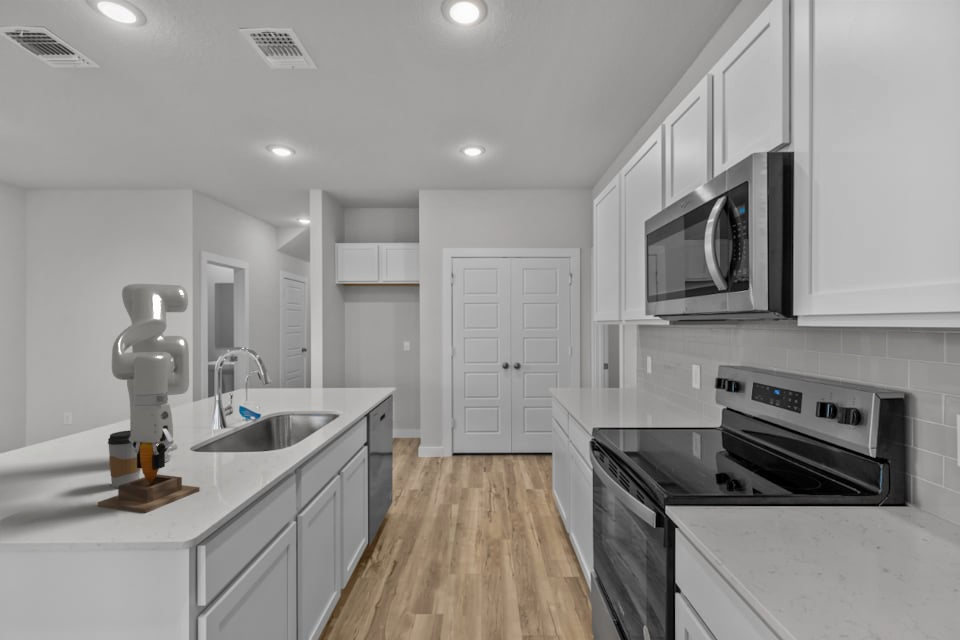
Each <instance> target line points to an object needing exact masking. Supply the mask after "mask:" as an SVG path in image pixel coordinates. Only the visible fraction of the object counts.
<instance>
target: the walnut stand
mask: <svg viewBox="0 0 960 640" xmlns="http://www.w3.org/2000/svg"><path fill="white" fill-rule="evenodd" d="M117 490H118V491H117V495H114V496H112V497H109V498H106V499H103V500H101V501H98V502H97V507H102V508H109V509H114V510H115V509H116V510H120V511H121V510H122V511H129V512H135V513H143V514H147V513H149V512H151V511H154V510H156V509H159V508H161V507H163V506H166V505H168V504H171V503H173V502H176V501H178V500H181V499H183V498H185V497H188V496H191V495H193V494H195V493H199V492H200V490H201V489H200V486H193V485H184V484H183V477H182V476H174V475H167V474H166V475H165V474H158V473H157V475H156V477H155V479H154V481H153V482H152V483H149V482H148V481H147V479H146V478H145V476H144V477H141V478H140V477H139V479H137V480H134V481H131V482H128V483H125V484H122V485H119V486H118V488H117Z"/></svg>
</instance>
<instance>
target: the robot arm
mask: <svg viewBox="0 0 960 640" xmlns="http://www.w3.org/2000/svg"><path fill="white" fill-rule="evenodd" d="M121 298H122V302H123V306H124V308H125V310H126V312H127V314H128V316H129V319H130V321H131V325H130V326H128V327H127V328H125V329H124V330H123V331H122V332H121V333H120V334H119V335H118V336H117V337H116V339H115V340H114V342H113V346H112V350H111V351H112V352H111V353H112V354H111V373H112V375H113V377H115V378H116V379H117V380H120V381H121V380H122V381H126V387H127V392H128V398H129V409H130V410H129V413H130V415H129V418H130V420H129V421H130V423H129V425H130V426H129V429H130V430H131V436H130V437H129V441H130V442H131V443H132V444H133V446H134V448H135V452H136V453H137V468H140V469H142V467H141V462H140V445H141V444H142V443H151V444H152V445H153V450H154V455H152V469H153V470H156V469H159V470H160V469H162V468H164V467H165V465H166V464H165V463H166V462H169V461H170V460H171V455H170V454H169V453H170V452H172V451H176V450H177V449H178V445H177V444H174V443H175V442H174V440H173V437H174V426H173V425H174V424H173V423H174V422H173V414H172V409H171V406H170V404H169V403H168V402H169V397H168V396H174V395H175V396H176V395H177V396H178V395H183V394H185V393H187V392H188V390H189V388H190V349H189V343H188V341H187V339H186V338H185V337H184V336H180V335H164V332H166V331H165V330H166V329H167V313H184V312H185V311H186V310H187V309H188V305H189V297H188V292H187V291H186V288H185V287H184V286H182V285H180V284H179V285H177V284H154V283H131V284H128V285H125V286H124V287H123V288H122V291H121ZM130 347H132V348H131V350H132V352H126V351H127V350H128V349H129V348H130ZM130 430H129V431H130ZM158 444H160V445H161V446H160V447H159V448H158Z"/></svg>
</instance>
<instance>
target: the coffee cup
mask: <svg viewBox="0 0 960 640" xmlns="http://www.w3.org/2000/svg"><path fill="white" fill-rule="evenodd" d="M130 436H131V430H123V431H118V432H112V433H111V434H109V438H108V439H107V445H108V454H109V458H108V459H109V471H110V477H111V486H112V487H113V488H114V489H118V486H119V485H122V484H125V483H128V482H131V481H134V480H137V479H140V475H141V474H140V473H141V468H137V453H136V452H135V448H134V446H133V444H132V443H131V442H130V441H129V437H130Z"/></svg>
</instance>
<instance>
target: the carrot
mask: <svg viewBox="0 0 960 640" xmlns="http://www.w3.org/2000/svg"><path fill="white" fill-rule="evenodd" d="M160 446H161V445H160V444H158V448H159V447H160ZM152 455H154V450H153V445H152V444H151V443H142V444H141V445H140V462H141V467H142V468H141V471H142V473H143V476H144V477H145V478H146V479H147V481H148V482H149V483H152V482H153V481H154V479H155V477H156V475H157V474H158V472H159V470H160V469H156V470H153V469H152Z"/></svg>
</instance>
